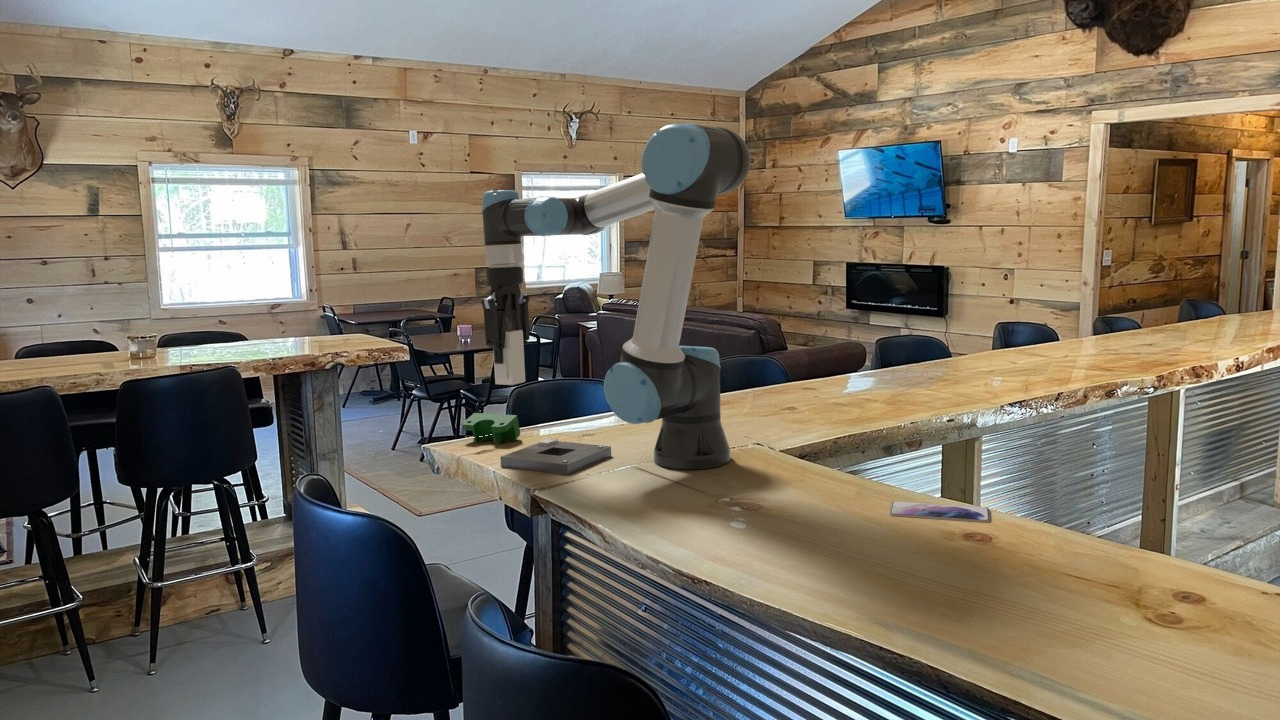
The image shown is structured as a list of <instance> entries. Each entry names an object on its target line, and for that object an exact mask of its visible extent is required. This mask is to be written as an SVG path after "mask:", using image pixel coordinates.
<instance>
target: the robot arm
mask: <svg viewBox="0 0 1280 720" xmlns="http://www.w3.org/2000/svg"><path fill="white" fill-rule="evenodd" d="M751 160H752V159H751V152H750V150H749V147H748V145H747V143H746V141H745V140H744V139H743V138H742V137H741V136H740V134H738V133H737V132H735V131H732V130H731V129H729V128H724V127H714V126H707V125H700V124H695V123H686V122H683V123H671V124H667V125H665V126H663V127H661V128H659V129H658V131H656V132H654V133H653V134H652V136H651V137H650V138H649V139H648V141H647V142H646V144H645V147H644V150H643V152H642V157H641V171H642V172H641V173H639V174H637V175H634V176H632V177H631V176H630V177H628V178H627V179H623V180H620V181H619V182H615V183H613V184H610V185H607V186H604V187H602V188H599V189H597V190H594V191H591V192H589V193H586V194H584V195H581V196H578V197H572V198H571V197H568V198H567V197H555V196H543V195H542V196H537V197H529V198H521V199H520V196H519V192H518V191H517V190H514V189H499V190H488V191H485V192H484V193H482V199H481V200H482V202H481V203H482V206H481V207H482V208H481V209H482V210H481V214H482V223H483V239H484V250H485V253H484V254H485V265H487V266H488V267H486V270H485V273H486V275H485V276H486V285H488V286H489V287H490V292H489V296H488V297H487V298H481V306H482V308H483V316H484V317H483V318H484V320H483V321H484V322H483V323H484V333H485V335H484V336H485V337H484V338H485V345H486V346H487V347H489V349H494V352H493V363H494V362H495V364H496V379H504V380H507V379H509V371H508V353H507V348H504V345H505V333H506V322H507V321H511V324H512V330H523V345H527V344H528V343H529V340H530V320H529V318H530V315H529V302H530V295H529V294H527V293H526V294H525V293H522V291H521V289H520V285H522V284H523V283H524V272H523V267H522V266H520V265H521V264H522V263H523V254H522V253H523V249H522V237H538V236H539V237H546V236H547V237H551V236H564V235H565V236H571V235H574V236H575V235H577V236H578V235H581V236H589V235H593V234H598V233H601V232H602V231H603V230H604V229H605V228H606V227H608V226H610V225H611V226H612V225H614V224H616V223H620V222H622V221H625V220H628V219H631V218H635V217H638V216H640V215H644V214H646V213H649V212H652V211H654V216H653V221H652V225H651V233H650V237H649V243H648V250H647V256H646V262H645V267H644V272H643V277H642V283H641V290H640V294H639V301H638V307H637V312H636V317H635V324H634V330H633V335H632V337H631V338H630V339H629V340H627V341H626V342H624V343H623V345H622V349H621V355H620V360H619V362H616V363H614V364H613V365H612V366H611V367H610V368H609V369H608V370H607V372H606V374H605V377H604V380H603V392H604V397H605V400H606V403H607V404H608V405H609V406H610V409H611V411H612V412H613V413H614V415H616V417H617V418H619V419H620V420H621V421H623V422H625V423H627V424H630V425H631V424H632V425H640V424H650V423H653V422H654V421H657V420H660V419H661V425H660V429H659V432H658V437H657V439H656V442H655V445H654V446H655V447H654V448H653V449H654V451H653V459H654V460H653V461H654V463H655V464H657V465H658V466H661V467H664V468H668V469H669V468H670V469H677V470H704V469H705V470H706V469H713V468H718V467H721V466H724V465H726V464H728V463H730V461H731V450H730V445H729V442H728V440H727V436H726V434H725V430H724V428H723V424H722V421H721V415H722V414H721V369H722V368H721V364H720V353H719V351H718V350H717V349H716V348H714V347H709V346H694V345H692V346H690V345H680V343H681V336H682V332H683V326H684V322H685V317H686V311H687V307H688V301H689V296H690V291H691V286H692V280H693V276H694V275H693V274H694V269H695V265H696V259H697V253H698V249H699V248H698V247H699V243H700V239H701V233H702V228H703V223H704V219H705V218H706V216H707V215H709V214H710V213H711V212H714V210H715V206H716V201H717V196H719V195H723V194H728V193H731V192H733V191H734V190H735V191H736V189H738V188H739V187H740V186H741V185H742V184H743V183H744V182H745V180H746V178H747V177H748V174H749V172H750V168H751Z"/></svg>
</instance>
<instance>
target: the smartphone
mask: <svg viewBox="0 0 1280 720" xmlns="http://www.w3.org/2000/svg"><path fill="white" fill-rule="evenodd" d="M889 516H890V517H897V518H898V517H899V518H911V519H924V520H925V519H927V520H943V521H953V522H955V521H956V522H970V523H971V522H972V523H983V524H990V523H991V513H990V508H989V507H986V506H973V505H959V504H944V503H943V504H941V503H929V502H917V501H898V500H896V501H895V500H894V501H892V502H891V506H890V510H889Z"/></svg>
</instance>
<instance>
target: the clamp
mask: <svg viewBox="0 0 1280 720" xmlns="http://www.w3.org/2000/svg"><path fill="white" fill-rule="evenodd" d="M518 419H519V418H518V414H517V415H516V414H503V413H502V414H501V413H480V412H474V413H472V415H470V416H469V417H468V418H466V419H465V420H464V421H463V422H462V426H463V430H464V431H467V432H468V431H470V432H472V435H473V440H474V444H478V443H480V442H482V441H484V440H489V441H493V444H494V445H495V446H496V445H499V444H500V443H501V442H502V441H505V442H506V441H507V442H515V441H516V440H517V439H518V438H519V437H520V436H521V429H520V423H519V420H518ZM490 434H492V435H490ZM485 435H488V436H485ZM479 436H483V437H479ZM474 437H475V438H474ZM491 439H492V440H491Z"/></svg>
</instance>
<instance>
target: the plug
mask: <svg viewBox="0 0 1280 720" xmlns="http://www.w3.org/2000/svg"><path fill="white" fill-rule="evenodd" d="M524 345H525V344H523V330H512V324H511V321H508V320H507V322H506V333H505V345H504V348H507V353H508V371H509V379H507V380H504V379H496V364H495V362H494V361H493V367H494V380H495V381H494V383H495V385H503V386H505V385H506V386H514V385H518V384H522V383H525V382H526V368H525V367H526V366H525V349H524V348H525V347H524ZM492 349H493V348H492ZM492 351H493V353H494V349H493V350H492Z"/></svg>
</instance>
